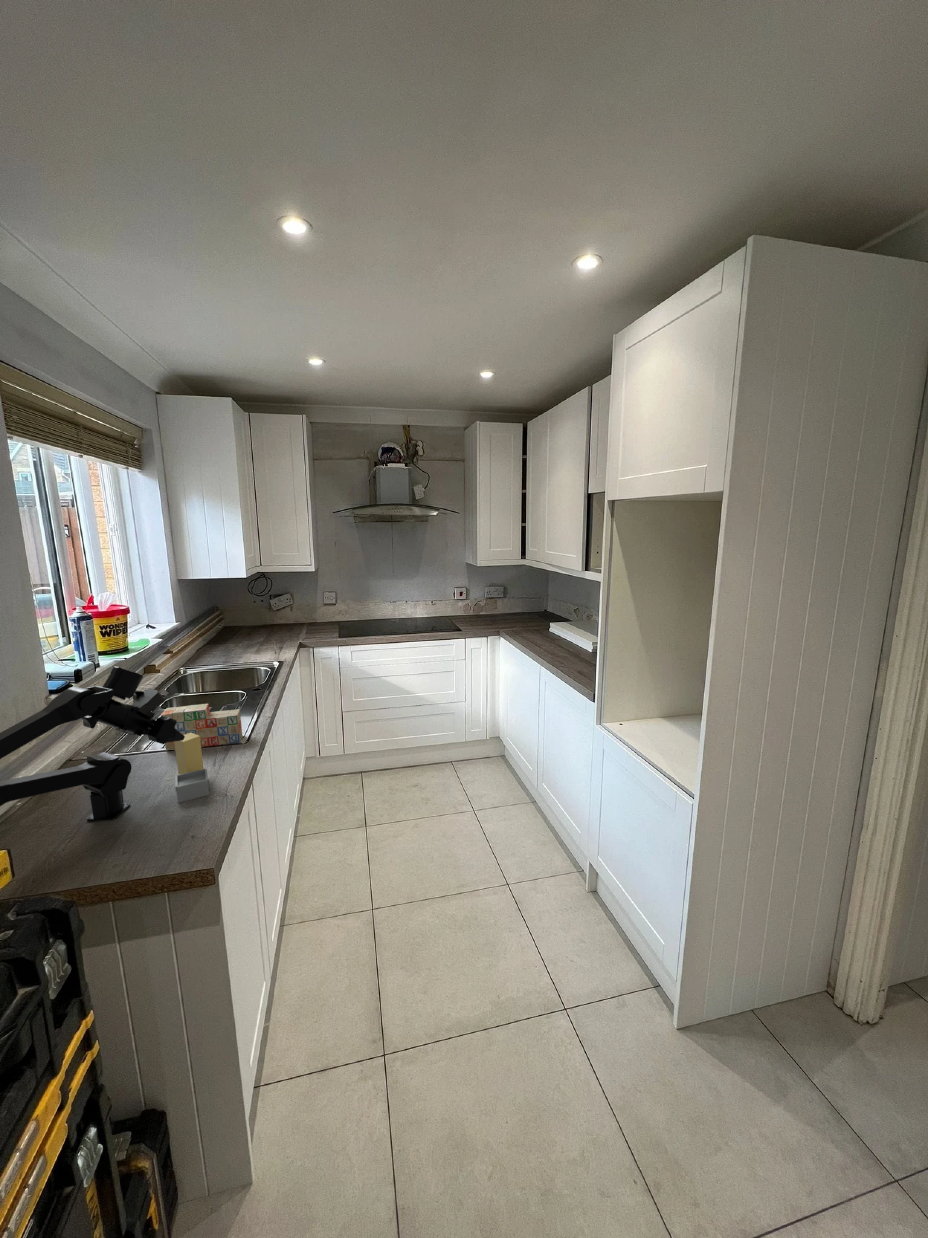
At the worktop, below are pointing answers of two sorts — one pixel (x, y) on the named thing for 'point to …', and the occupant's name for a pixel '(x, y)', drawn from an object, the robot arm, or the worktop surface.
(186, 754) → the mustard brick
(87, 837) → the worktop surface
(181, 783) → the base tray
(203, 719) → the stack of blocks
